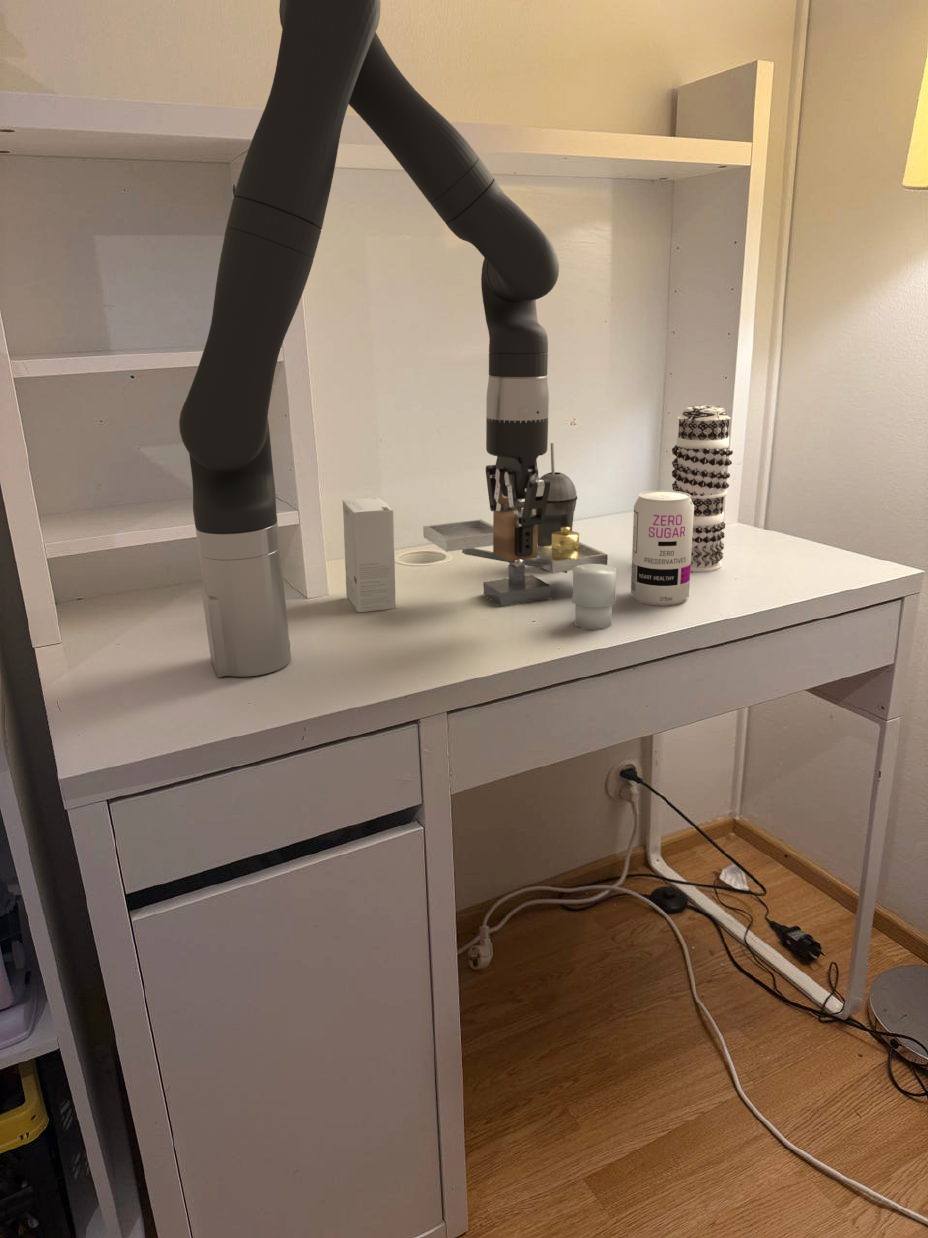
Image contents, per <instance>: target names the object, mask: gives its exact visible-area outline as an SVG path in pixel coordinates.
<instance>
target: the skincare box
mask: <svg viewBox="0 0 928 1238" xmlns="http://www.w3.org/2000/svg"><path fill="white" fill-rule="evenodd" d="M341 501H342V514H343V515H342V516H343V540H344V543H343V544H344V563H345V586H346V587H345V589H346V593H345V594H346V598H347V599H348V600H349V601H350V602H351V603H352V605H353V607H354V609H355V610H356V612H357V613H368V612H375V611H376V612H377V611H385V610H392V609H393V610H394V609H396V608H397V607H396V606H397V604H396V569H395V568H396V565H395V564H396V563H395V560H396V559H395V525H394V523H395V522H394V520H395V518H394V510H393V509H392V508H391V507H390V506H389V505H388V502H386V501H383V500H382V499H381V498H380V497H369V498H367V497H366V498H351V499H343V500H341Z"/></svg>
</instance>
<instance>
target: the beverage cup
mask: <svg viewBox="0 0 928 1238" xmlns="http://www.w3.org/2000/svg"><path fill="white" fill-rule="evenodd" d="M554 449H555V446H554V442H551V443H550V465H551V466H550V468H551V470H550V471H551V472H547V473H545V474H544V475H542V476H540V477H539V478H540V479H549V481H550V490H549V495H548V500H547V506H546V511H545V516H544V521H543V524H538V543H537V546H544V545H551V544H552V533H554V532H557V531H561V527H563V526H568V527H570V531H573V524H574V513H575V511H576V506H577V500H578V495H577V489H576V486H575V484H574V482H573V480H572V479H571V478H570V477H569V476H567V475H566V474H565V473H563V472H559V471H557V472H556V471H555V450H554ZM535 510H536V514H537V509H535ZM539 569H540V570H541V571H543V572H548V573H550V572H549V571H547V570H546V569H542V568H539Z"/></svg>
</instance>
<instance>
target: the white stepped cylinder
mask: <svg viewBox="0 0 928 1238" xmlns="http://www.w3.org/2000/svg"><path fill="white" fill-rule="evenodd" d="M616 583H617V569H616V567H614V566H612V565H608V564H607V565H604V564H584V565H579V566H576V567H574V568H573V570H572V602H573V604H575V607H574V608H575V610H574V612H575V616H574V620H575V621H574V623H575V624H574V625H575V626H576V627H577V628H580V629H584V630H590V631H594V630H595V631H599V630H606V629H608V628H610V627H611V626H612V623H613V622H612V621H613V620H612V618H613V605H614V604H615V603H616V594H617V593H616V588H617V584H616Z"/></svg>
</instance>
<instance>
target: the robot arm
mask: <svg viewBox="0 0 928 1238" xmlns="http://www.w3.org/2000/svg"><path fill="white" fill-rule="evenodd" d="M381 3H382V2H381V0H279V8H278V9H279V12H278V13H279V20H280V21H279V22H280V25H281V35H280V36H281V37H280V42H279V48H278V54H277V59H276V66H275V72H274V77H273V80H272V81H273V82H272V84H271V89H270V92H269V96H268V98H267V101H266V104H265V107H264V109H263V112H262V114H261V116H260V119H259V122H258V124H257V127H256V129H255V132H254V134H253V136H252V139H251V142H250V145H249V148H248V150H247V152H246V156H245V159H244V161H243V165H242V167H241V170H240V173H239V177H238V180H237V183H236V187H235V189H234V194H233V199H232V203H231V207H230V211H229V214H228V219H227V223H226V227H225V232H224V237H223V243H222V249H221V253H220V258H219V263H218V270H217V277H216V282H215V283H216V284H215V290H214V299H213V306H212V307H213V308H212V316H211V322H210V325H209V326H210V328H209V331H208V334H207V338H206V342H205V345H204V348H203V351H202V355H201V357H200V361H199V363H198V367H197V369H196V373H195V375H194V377H193V380H192V384H191V386H190V389H189V392H188V394H187V397H186V399H185V401H184V403H183V405H182V407H181V411H180V413H179V420H178V421H179V422H178V426H179V434H180V437H181V440H182V444H183V446H184V448H185V449H186V451H187V452H188V454H189V463H190V470H191V481H192V512H193V520H194V527H195V534H196V542H197V549H198V557H199V566H200V573H201V579H202V587H201V595H202V602H203V611H204V617H205V625H206V626H205V627H206V632H207V633H206V634H207V639H208V640H207V641H208V648H209V656H210V661H211V665H212V667H213V670H214V672H215V675H216V676H217V678H222V677H243V678H244V677H255V676H256V677H257V676H261V675H263V676H264V675H266V674H270V673H273V672H276V671H279V670H281V669H282V668H284V667H286V666H287V665H288V664H289V663H291V659H292V656H291V655H292V654H291V641H290V635H289V624H288V615H287V614H288V613H287V605H286V603H287V602H286V595H285V585H284V584H285V583H284V575H283V574H284V573H283V563H282V557H281V556H282V555H281V545H280V536H279V525H278V513H277V501H276V485H275V477H274V465H273V454H272V445H271V434H270V424H269V417H268V415H269V409H270V403H271V396H272V389H273V385H274V384H273V383H274V378H275V377H274V376H275V372H276V368H277V363H278V360H279V354H280V352H281V347H282V345H283V343H284V341H285V337H286V335H287V333H288V330H289V327H291V326H290V325H291V322H292V321H293V318H294V316H295V314H296V312H297V310H298V307H299V304H300V301H301V299H302V296H303V294H304V290H305V288H306V285H307V282H308V279H309V275H310V274H311V273H310V272H311V270H312V266H313V263H314V259H315V257H316V252H317V249H318V245H319V241H320V237H321V233H322V229H323V225H324V223H325V216H326V212H327V207H328V203H329V197H330V193H331V188H332V184H333V179H334V176H335V175H334V173H335V170H336V169H335V168H336V165H337V164H336V163H337V158H338V153H339V151H338V149H339V144H340V141H341V140H340V139H341V133H342V128H343V124H344V120H345V117H346V113H347V110H348V107H349V106H350V107H351V108H352V110H354V112H355V113H356V114H357V115H358V116H359V117H360V118H361V119H362V120H363V121H364V122H365V123H366V125H367V126H368V127H369V128H370V129H371V130H372V131H373V133H374V134H375V135H376V136H377V137H378V138H379V140H380V141H381V142H382V143H383V145H384V146H385V147H386V148H387V150H388V151H389V152H390V153H391V155H392V156H393V157H394V158H395V160H396V161H397V162H398V163H399V165H400V166H401V168H403V170H404V171H405V173H406V174H407V175H408V176H409V177H410V179H411V180H412V182H413V183H414V184H415V185H416V186H415V187H417V189H419V191H420V192H421V194H422V195H423V196H424V197H425V199H426V200H427V201H428V203H429V204H430V206H431V207H432V208H433V209H434V211H435V212H436V213H437V215H438V216H439V217H440V219H441V220H442V221H443V222H444V223H445V225H446V226H447V227H448V229H449V230H450V231H451V232H452V233H453V234H454V235H455V236H456V237H457V238H459V240H462V241H465V242H467V243H470V245H472V246H473V247H475V248H476V250H477V251H478V252H479V254H481V255H482V257H484V258H483V262H482V267H481V277H480V280H481V282H480V285H481V296H482V304H483V310H484V315H485V322H486V328H487V331H488V335H489V336H488V338H489V341H488V342H489V343H488V383H487V389H486V407H485V408H486V409H485V410H486V412H485V413H486V421H485V422H486V423H485V424H486V425H485V427H486V428H485V429H486V430H485V431H486V432H485V433H486V437H485V438H486V439H485V441H486V442H485V445H486V446H485V450H486V453H488V454H489V455H490V456H494V457H496V460H495V464H489V465H486V466H485V475H486V476H485V478H486V479H485V480H486V485H487V492H488V493H487V494H488V502H489V503H488V504H489V509H490V511H491V512H493V511H503V510H513V511H514V520H515V526H516V527H515V555H516V556H518V557H527V556H531V555H532V553H533V527H534V526H536V525H538V524H543V521H544V516H545V511H546V506H547V500H548V495H549V490H550V481H549V479H540V478H541V477H539V467H538V461H537V459H538V457H540V456H543V455H545V454H546V453H547V451H548V446H549V445H548V442H549V441H548V440H549V439H548V437H549V436H548V435H549V404H550V403H549V402H550V397H549V393H550V392H549V385H548V368H549V367H548V365H549V364H548V363H549V339H548V334H547V331H546V329H545V328H544V327H543V326H542V325H541V324H540V323H539V321H538V314H537V313H538V312H537V310H538V309H537V302H536V301H537V300H539V299H542V298H543V297H545V296H546V295H548V294H549V293H550V292H551V291H552V290H553V289H554V287H555V286H556V283H557V281H558V278H559V273H560V263H559V259H558V254H557V251H556V249H555V247H554V246H553V244H552V242H551V240H550V239H549V237H548V236H547V235H546V233H545V232H544V231H543V230H542V229H541V228H540V227H539V225H538V224H537V223H536V222H535V221H534V220H533V219H531V217H530V216H529V215H528V214H527V213H525V211H524V210H523V209H522V208H521V207H520V206H519V205H517V203H516V202H515V201H513V200H512V199H510V197H509V196H507V195H506V193H505V192H504V191H503V190H502V189H501V187H500V185H499V184H498V182H497V180H496V179H495V178H494V176H493V175H492V173H491V172H490V170H488V167H487V166H486V165H485V164H484V163H483V161H482V159H481V158H480V157H479V156H478V154H477V153H476V151H475V150H474V149H473V147H472V146H471V145H470V144H469V142H468V141H467V140H466V139H465V138H464V136H463V135H462V134H461V133H460V131H458V129H456V127H454V125H453V124H451V123H450V121H449V120H447V118H445V117H444V116H443V115H442V114H441V113H440V111H438V110H437V109H436V108H435V107H433V105H431V104H430V103H429V102H428V101H427V100H426V99H425V98H424V97H423V96H422V95H421V94H420V93H419V92H418V91H417V90H416V89H415V88H414V86H413V85H412V84H411V83H410V81H409V80H407V79H406V77H405V76H404V75H403V73H402V72H401V70H400V69H399V68H398V67H397V65H396V64H395V63H394V61H393V59H392V57H390V54H389V53H388V51H387V49H386V48H385V46H384V45H383V43H382V41H381V39H380V38H379V36H378V34H377V29H378V27H379V23H380V18H381ZM522 500H523V501H522ZM521 509H523V513H522V514H521ZM535 509H537V514H536V510H535Z"/></svg>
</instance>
